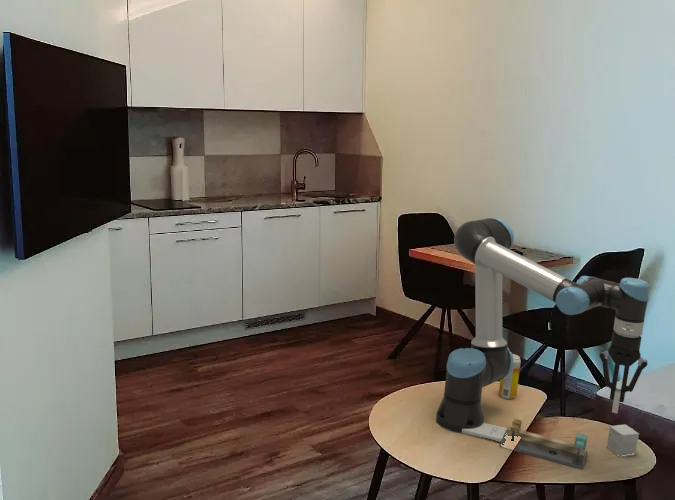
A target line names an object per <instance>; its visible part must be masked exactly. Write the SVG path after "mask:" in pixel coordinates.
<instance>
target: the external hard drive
mask: <svg viewBox="0 0 675 500" xmlns="http://www.w3.org/2000/svg"><path fill="white" fill-rule="evenodd" d="M507 429H508V427H502V426H499V425H495V424H490V423H486V422H484V423H483V424H482V425H481V426H480V427H477V428H473V429H462V433H461V434H464V435H469V436H473V437H477V436H478V437H477V438H481V437H484V438H483V439H485V438H488V439H487V440H489V439H493V440H497V441H502V439H503V437H504V435H505V433H506V431H507ZM493 440H492V441H493ZM497 441H496V442H497Z"/></svg>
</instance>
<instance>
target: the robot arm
mask: <svg viewBox="0 0 675 500" xmlns="http://www.w3.org/2000/svg"><path fill="white" fill-rule="evenodd" d="M453 239H454V240H453V241H454V242H453V243H454V246H455V249H456V251H457V252H458V254H459V255H460V256H462V257H463V258H464V259H466V260H467V261H469V262H470V263H472V264H473V265H474V266H475V267H474V268H475V269H474V270H475V272H474V273H475V274H474V275H475V279H474V280H475V281H474V283H475V286H474V287H475V337H474V338H472V340H471V343H470V344H471V345H470V346H471V347H465V348H463V347H460V348H458V349H457V348H456V349H454V350H453V351H452V352H450V354H449V355H448V359H447V363H446V372H445V384H444V390H443V391H444V393H443V398H442V400H441V402H440V404H439V406H438V408H437V410H436V415H435V420H436V421H435V422H437V424H438V425H439V426H440V427H442V428H444V429H445V430H448V431H451V432H455V433H460V434H463V433H462V429H473V428H477V427H480V426H481V425H482V424H483V423H485V416H484V413H483V408H482V404H481V403H482V392H483V388H485V387H488V386H489V385H491V384H494V383H496V382H500V380H502V379H503V378H504V377H506V376H507V375H508V374H509V373H510V372H511V370H512V368H513V364H514V359H513V355H512V354H513V352H512V351H510V348H509V347H508V342H507V340H506V339H505V338H504V337H503V276H504V277H506V278H509V279H510V280H512V281H514V282H515V283H518V284H519V285H521V286H523V287H525V288H527V289H529V290H531V291H532V292H535V293H537V294H538V295H540V296H542V297H544V298H545V299H548V300H550V301H552V302H553V303H556V304H555V305H556V307H557V308H558V310H560V311H559V312H561V313H562V314H565V315H567V316H573V315H579V314H582V313H584V312H586V311H589V310H591V309H594V308H596V307H601V308H602V307H603V308H607V309H610V310H615V316H614V323H613V332H612V336H611V343H610V346H609V347H608V350H605V351H603V350H602V351H600V352H599V355H598V356H599V358H600V360H601V364H602V372H603V379H604V386H605V387H606V388H609V389H610V392H609V400H610V401H613V403H612V409H611V413H614V414H618V412H619V407H620V406H619V405H620V403H624V401H625V398H626V393H627V392H630V393H632V392H633V390H634V389H635V387H636V384H637V382H638V380H639V377H640V376H641V374H642V373H643V372H642V371H643V370H644V369H646V367H647V366H648V360H647V359H644V358H643V357H642V356H641V355H642V354H641V353H640V352H641V351H640V348H641V343H642V335H643V331H644V326H645V325H644V324H645V317H646V312H647V307H648V301H649V294H650V293H649V292H650V284H649V282H647V281H645V280H643V279H640V278H635V277H634V278H633V277H624V278H622V279H621V280H620V282H615V281H610V280H606V279H602V278H598V277H596V276H588V275H582V276H580V277H579V278H578V279H577V281H575V282H574V281H573V280H571V279H568V278H567V277H565V276H563V275H561V274H559V273H557V272H555V271H553V270H552V269H549V268H547V267H545V266H543V265H541V264H539V263H537V262H535V261H533V260H531V259H529V258H528V257H525V256H523V255H522V254H519V253H517V252H515V251H514V250H512V249H511V248H512V246H513V244H514V240H515V235H514V232H513V229H512V228H511V226H510V225H509V224H508V223H507V222H506V221H505V220H503V219H501V218H498V217H496V218H495V217H489V218H487V217H486V218H483V219H477V220H471V221H466V222H464V223H463V224H461V225H460V226H459V227H458V228H457V230H456V231H455V235H454V238H453ZM609 357H610V358H611V360H612V361H613V363H614V369H613V375H612V380H611V379H610V370H609V360H608V359H609ZM637 361H638V362H637ZM636 362H637V367H636V369H635V372H634V373H633V376H632V379H631V381H630V382H629V385H627V384H628V379H629V371H630V366H633V364H635V363H636ZM620 366H623V367H624V368H623V376H622V381H621V386H620V387H621V388H620V387H619V388H618V387H617V385H618V379H619V372H620Z"/></svg>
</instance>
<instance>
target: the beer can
mask: <svg viewBox="0 0 675 500" xmlns="http://www.w3.org/2000/svg"><path fill="white" fill-rule="evenodd" d="M512 355H513V359H514V364H513V368H512V370H511V372H510V373H509V374H508V375H507V376H506V377H504V378H503V379H502V380H500V381H499V386H498V387H499V388H498V394H499V396H500V397H501V398H503V399H505V400H513V398H514V399H515V398H516V397H517V392H518V386H519V378H520V377H519V376H520V370H521V362H522V360H521V357H520V356H519V355H517V354H515V353H512Z"/></svg>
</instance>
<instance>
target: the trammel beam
mask: <svg viewBox="0 0 675 500" xmlns="http://www.w3.org/2000/svg"><path fill="white" fill-rule="evenodd" d="M522 422H523V421H522V419H519V418H518V419H517V418H513V420H512V422H511V426H508V427H507V434H506V435H508V436H512V439H511V441H514V436H517V437H518V436H520V437H521V439H522V440H526V441H529V442H533V443H537V444H541V445H544V446H548V447H552V448H556V449H559V450H563V451H567V452H571V453H574V454H577V451H578V448H576V447H574V446H575V443H571V442H568V441H565V440H561V439H557V438H552V437H550V436H545V435H541V434H538V433H534V432H530V431H525V430H522ZM586 448H587V447H586ZM586 448H585V450H584V449H580V454H579V455H582V456H584V454H585V451H586Z"/></svg>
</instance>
